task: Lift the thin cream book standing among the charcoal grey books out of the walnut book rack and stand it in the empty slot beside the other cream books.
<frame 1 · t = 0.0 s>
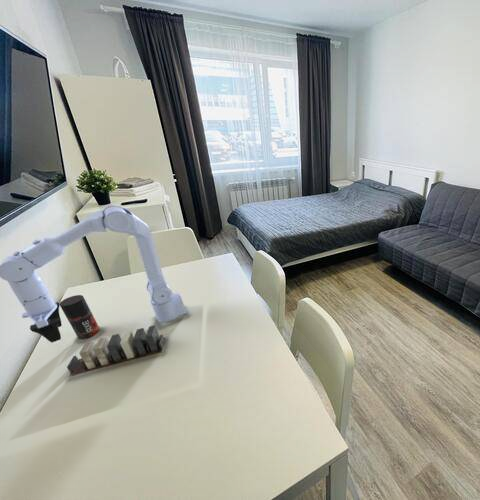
hand: (56, 333, 81), 10 cm above the table, tool pointing down, fingers open, 7 cm apart
book rack: (121, 357, 85), on the table
cream book: (133, 352, 86), point 1 cm above the table, touching book rack
deodorant: (90, 335, 94), on the table
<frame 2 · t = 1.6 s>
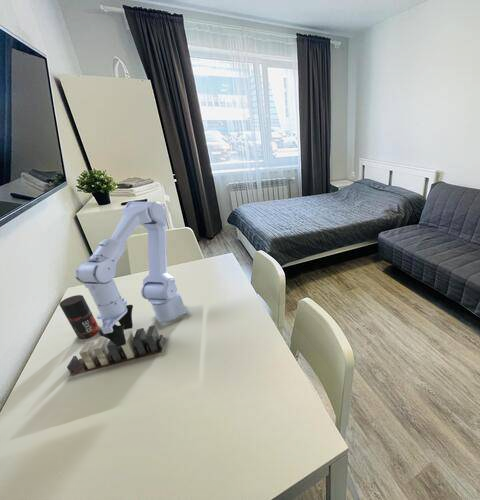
hand: (125, 336, 83), 8 cm above the table, tool pointing down, fingers open, 7 cm apart
nothing on the table moved.
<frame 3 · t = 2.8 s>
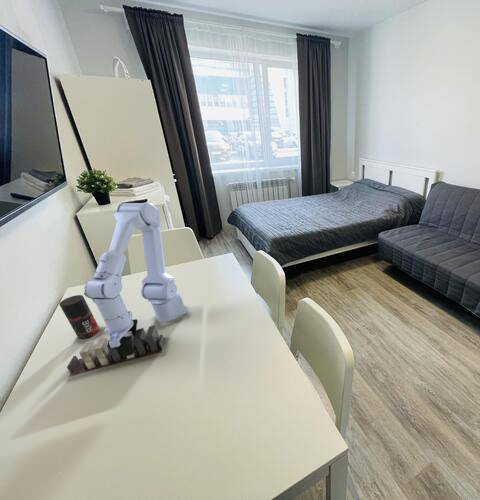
hand: (131, 348, 85), 3 cm above the table, tool pointing down, fingers closed on cream book, 5 cm apart
cream book: (133, 352, 86), point 1 cm above the table, touching book rack, gripper
everything else where it was.
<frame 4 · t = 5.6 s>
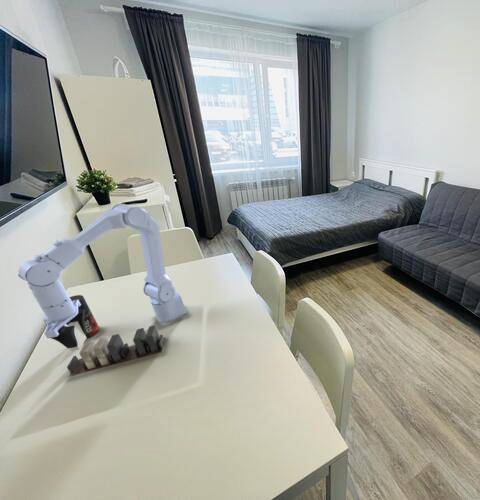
hand: (77, 340, 78), 10 cm above the table, tool pointing down, fingers closed on cream book, 5 cm apart
cream book: (79, 344, 79), point 9 cm above the table, touching gripper
everything else where it was.
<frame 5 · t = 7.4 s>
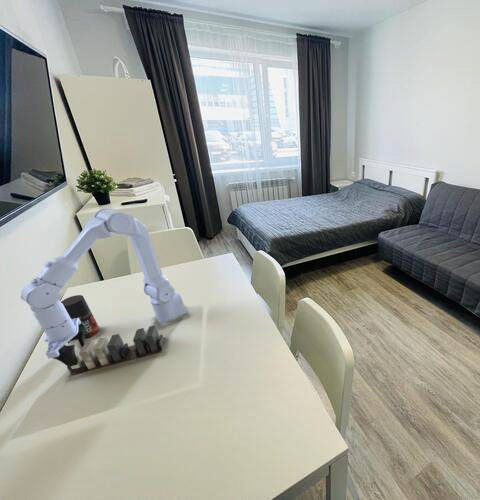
hand: (77, 357, 80), 4 cm above the table, tool pointing down, fingers closed on cream book, 5 cm apart
cream book: (79, 362, 81), point 3 cm above the table, touching gripper
everything else where it was.
when the fingers open (3 cm above the table, at t = 8.5 s): cream book stays where it is, resting on book rack.
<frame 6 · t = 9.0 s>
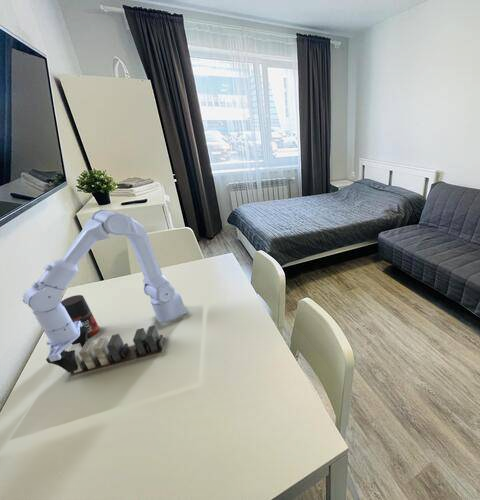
hand: (79, 360, 80), 3 cm above the table, tool pointing down, fingers open, 7 cm apart
cream book: (81, 365, 81), point 1 cm above the table, touching book rack
everything else where it was.
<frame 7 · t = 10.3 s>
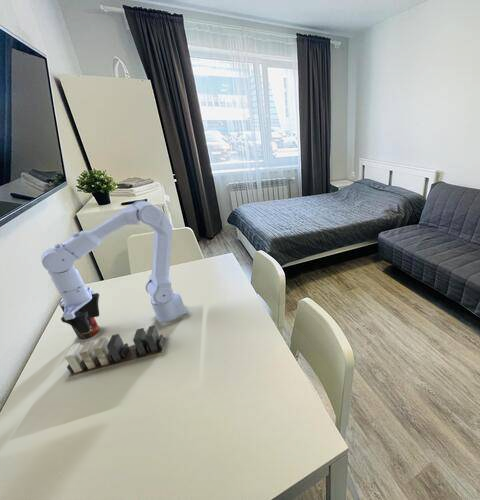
hand: (90, 323, 84), 10 cm above the table, tool pointing down, fingers open, 7 cm apart
nothing on the table moved.
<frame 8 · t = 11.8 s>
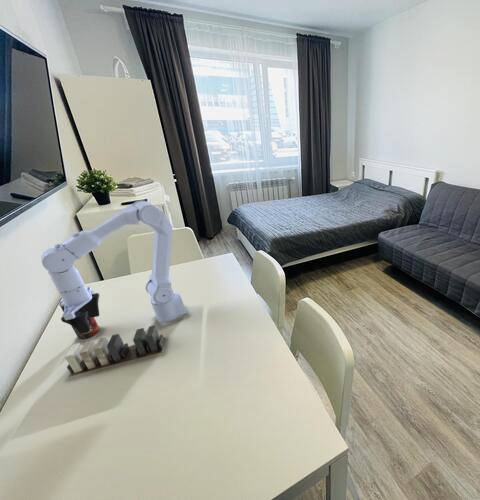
hand: (90, 323, 84), 10 cm above the table, tool pointing down, fingers open, 7 cm apart
nothing on the table moved.
at the end: cream book 0.0 cm from the target spot on the book rack, point 1.0 cm above the book rack's base; cream book tilted 0°; the gripper is holding nothing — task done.
